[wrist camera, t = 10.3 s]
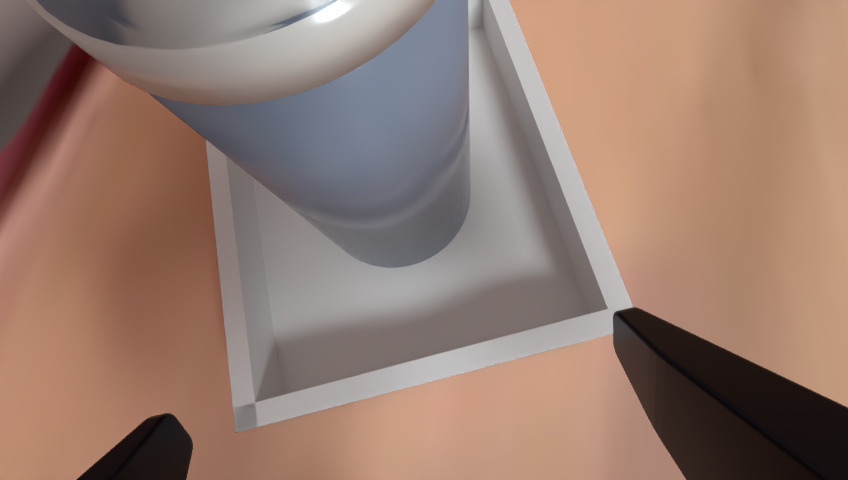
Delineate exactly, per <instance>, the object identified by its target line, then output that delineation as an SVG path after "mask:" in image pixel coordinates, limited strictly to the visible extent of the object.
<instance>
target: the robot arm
mask: <svg viewBox="0 0 848 480" xmlns="http://www.w3.org/2000/svg"><path fill="white" fill-rule="evenodd" d="M613 344H614V349H615V352H616V354H617V357H618V359H619V361H620V363H621V365H622V367H623V369H624V371H625V373H626V375H627V377H628V379H629V381H630V383H631V385H632V387H633V389H634V391H635V392H636V394H637V396H638V398H639V400H640V402H641V404H642V406H643V408H644V410H645V412H646V414H647V416H648V418H649V420H650V422H651V424H652V426H653V428H654V429H655V431H656V433H657V434H658V436H659V438H660V439H661V441H662V442H663V444H664V446H665V447H666V449H667V450H668V452H669V453H670V455H671V456H672V458H673V460H674V461H675V463H676V464H677V466H678V467H679V469H680V470H681V472H682V474H683V475H684V477H685V478H686V480H848V407H846V406H843V405H841V404H839V403H837V402H835V401H833V400H831V399H829V398H827V397H825V396H822V395H820V394H818V393H816V392H814V391H812V390H810V389H808V388H806V387H803V386H801V385H799V384H797V383H795V382H793V381H791V380H789V379H787V378H785V377H782V376H780V375H778V374H776V373H774V372H772V371H770V370H768V369H766V368H764V367H761V366H759V365H757V364H755V363H753V362H751V361H749V360H747V359H745V358H742V357H740V356H738V355H736V354H734V353H732V352H730V351H728V350H726V349H724V348H721V347H719V346H717V345H715V344H713V343H711V342H709V341H707V340H705V339H703V338H700V337H698V336H696V335H694V334H692V333H690V332H688V331H686V330H684V329H681V328H679V327H677V326H675V325H673V324H671V323H669V322H667V321H665V320H663V319H660V318H658V317H656V316H654V315H652V314H650V313H648V312H646V311H644V310H642V309H639V308H636V307H632V308H627V309H623V310H618V311H616V312H615V313H614V315H613ZM192 450H193V443H192V439H191V437H190V435H189V434H188V433H187V432H186V430H185V429H184V428H183V426H182V425H181V424H180V422H179V421H178V420H177V418H176V417H175V416H174V415H172V414H170V413H165V414H161V415H157V416H152V417H150V418H148V419H146V420H145V421H144V422H142V423H141V424H140V425H139V426H138V427H137V428H135V429H134V430H133V431H132V432H131V433H130V434H129V435H127V436H126V437H125V438H124V439H123V440H122V441H120V442H119V443H118V444H117V445H116V446H115V447H114V448H112V449H111V450H110V451H109V452H108V453H107V454H105V455H104V456H103V457H102V458H101V459H100V460H99V461H97V462H96V463H95V464H94V465H93V466H92V467H90V468H89V469H88V470H87V471H86V472H85V473H84V474H82V475H81V476H80V477H79V478H78V479H77V480H186V478H187V473H188V469H189V464H190V460H191V455H192Z"/></svg>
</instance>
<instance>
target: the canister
mask: <svg viewBox="0 0 848 480" xmlns="http://www.w3.org/2000/svg"><path fill="white" fill-rule="evenodd" d="M26 1H27V2H28V4H29V5H30V6H31V7H32V8H33V9H34V10H35V11H36V12H37V13H38V14H39V15H40V16H41V17H42V18H43V19H44V20H46V21H47V22H48V23H50V24H51V25H52V26H53V27H55V28H56V29H57V30H59V31H60V32H61V33H62V34H64V35H65V36H66V37H68V38H69V39H70V40H71V41H73V42H74V43H75V44H76V45H78V46H79V47H80V48H82V49H83V50H84V51H85V52H87V53H88V54H89V55H91V56H92V57H93V58H94V59H96V60H97V61H98V62H100V63H101V64H102V65H103V66H105V67H106V68H107V69H109V70H110V71H111V72H113V73H114V74H115V75H117V76H118V77H120V78H121V79H122V80H124V81H125V82H127V83H129V84H131V85H133V86H135V87H137V88H139V89H141V90H143V91H145V92H148V93H149V94H150V95H151V96H153V97H154V98H155V99H156V100H158V101H159V102H160V103H161V104H163V105H164V106H165V107H166V108H168V109H169V110H170V111H171V112H172V113H174V114H175V115H176V116H177V117H179V118H180V119H181V120H182V121H184V122H185V123H186V124H187V125H189V126H190V127H191V128H192V129H194V130H195V131H196V132H197V133H199V134H200V135H201V136H202V137H204V138H205V139H206V140H207V141H209V142H210V143H211V144H212V145H213V146H215V147H216V148H217V149H218V150H220V151H221V152H222V153H223V154H225V155H226V156H227V157H228V158H230V159H231V160H232V161H233V162H235V163H236V164H237V165H238V166H240V167H241V168H242V169H243V170H245V171H246V172H247V173H248V174H250V175H251V176H252V177H253V178H254V179H256V180H257V181H258V182H259V183H261V184H262V185H263V186H264V187H266V188H267V189H268V190H269V191H271V192H272V193H273V194H274V195H276V196H277V197H278V198H279V199H281V200H282V201H283V202H284V203H286V204H287V205H288V206H289V207H291V208H292V209H293V210H294V211H295V212H297V213H298V214H299V215H300V216H302V217H303V218H304V219H305V220H307V221H308V222H309V223H310V224H312V225H313V226H314V227H315V228H317V229H318V230H319V231H320V232H322V233H323V234H324V235H325V236H327V237H328V238H329V239H330V240H332V241H333V242H334V243H335V244H336V245H338V246H339V247H340V248H341V249H343V250H344V251H345V252H347V253H348V254H349V255H351V256H352V257H354V258H356V259H357V260H359V261H361V262H364V263H367V264H369V265H373V266H378V267H386V268H399V267H405V266H411V265H414V264H417V263H420V262H423V261H425V260H427V259H429V258H431V257H432V256H434V255H436V254H437V253H439V252H440V251H441V250H442V249H444V248H445V247H446V246H447V245H448V244H449V243H450V242H451V241H452V240H453V239H454V237H455V236H456V235H457V233H458V232H459V230H460V229H461V227H462V225H463V223H464V221H465V218H466V216H467V213H468V209H469V204H470V112H469V28H468V0H26Z"/></svg>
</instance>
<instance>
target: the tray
mask: <svg viewBox="0 0 848 480" xmlns="http://www.w3.org/2000/svg"><path fill="white" fill-rule="evenodd" d="M468 28H469V112H470V204H469V209H468V213H467V216H466V218H465V221H464V223H463V225H462V227H461V229H460V230H459V232H458V233H457V235H456V236H455V237H454V239H453V240H452V241H451V242H450V243H449V244H448V245H447V246H446V247H445V248H444V249H442V250H441V251H440V252H439V253H437V254H436V255H434V256H432V257H431V258H429V259H427V260H425V261H423V262H420V263H417V264H414V265H411V266H405V267H399V268H386V267H378V266H373V265H369V264H367V263H364V262H361V261H359V260H357V259H356V258H354V257H352V256H351V255H349V254H348V253H347V252H345V251H344V250H343V249H341V248H340V247H339V246H338V245H336V244H335V243H334V242H333V241H332V240H330V239H329V238H328V237H327V236H325V235H324V234H323V233H322V232H320V231H319V230H318V229H317V228H315V227H314V226H313V225H312V224H310V223H309V222H308V221H307V220H305V219H304V218H303V217H302V216H300V215H299V214H298V213H297V212H295V211H294V210H293V209H292V208H291V207H289V206H288V205H287V204H286V203H284V202H283V201H282V200H281V199H279V198H278V197H277V196H276V195H274V194H273V193H272V192H271V191H269V190H268V189H267V188H266V187H264V186H263V185H262V184H261V183H259V182H258V181H257V180H256V179H254V178H253V177H252V176H251V175H250V174H248V173H247V172H246V171H245V170H243V169H242V168H241V167H240V166H238V165H237V164H236V163H235V162H233V161H232V160H231V159H230V158H228V157H227V156H226V155H225V154H223V153H222V152H221V151H220V150H218V149H217V148H216V147H215V146H213V145H212V144H211V143H210V142H209V141H207V140H206V139H205V141H206V151H207V161H208V170H209V180H210V190H211V200H212V209H213V219H214V229H215V238H216V248H217V258H218V268H219V277H220V287H221V297H222V306H223V316H224V326H225V336H226V345H227V355H228V365H229V375H230V384H231V394H232V404H233V413H234V423H235V433H237V432H241V431H245V430H248V429H252V428H256V427H260V426H264V425H267V424H271V423H275V422H279V421H283V420H286V419H290V418H294V417H298V416H302V415H305V414H309V413H313V412H317V411H321V410H325V409H328V408H332V407H336V406H340V405H344V404H347V403H351V402H355V401H359V400H363V399H366V398H370V397H374V396H378V395H382V394H385V393H389V392H393V391H397V390H401V389H404V388H408V387H412V386H416V385H420V384H423V383H427V382H431V381H435V380H439V379H442V378H446V377H450V376H454V375H458V374H461V373H465V372H469V371H473V370H477V369H480V368H484V367H488V366H492V365H496V364H499V363H503V362H507V361H511V360H515V359H518V358H522V357H526V356H530V355H534V354H537V353H541V352H545V351H549V350H553V349H556V348H560V347H564V346H568V345H572V344H576V343H579V342H583V341H587V340H591V339H595V338H598V337H602V336H606V335H610V334H613V315H614V313H615V312H616V311H618V310H623V309H627V308H632V307H633V305H632V303H631V300H630V298H629V295H628V293H627V290H626V288H625V286H624V283H623V281H622V278H621V276H620V273H619V271H618V268H617V266H616V263H615V261H614V258H613V256H612V253H611V251H610V248H609V246H608V244H607V241H606V239H605V236H604V234H603V231H602V229H601V226H600V224H599V221H598V219H597V216H596V214H595V211H594V209H593V206H592V204H591V201H590V199H589V197H588V194H587V192H586V189H585V187H584V184H583V182H582V179H581V177H580V174H579V172H578V169H577V167H576V164H575V162H574V159H573V157H572V155H571V152H570V150H569V147H568V145H567V142H566V140H565V137H564V135H563V132H562V130H561V127H560V125H559V122H558V120H557V117H556V115H555V112H554V110H553V108H552V105H551V103H550V100H549V98H548V95H547V93H546V90H545V88H544V85H543V83H542V80H541V78H540V75H539V73H538V70H537V68H536V65H535V63H534V61H533V58H532V56H531V53H530V51H529V48H528V46H527V43H526V41H525V38H524V36H523V33H522V31H521V28H520V26H519V23H518V21H517V19H516V16H515V14H514V11H513V9H512V6H511V4H510V1H509V0H468Z"/></svg>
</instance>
